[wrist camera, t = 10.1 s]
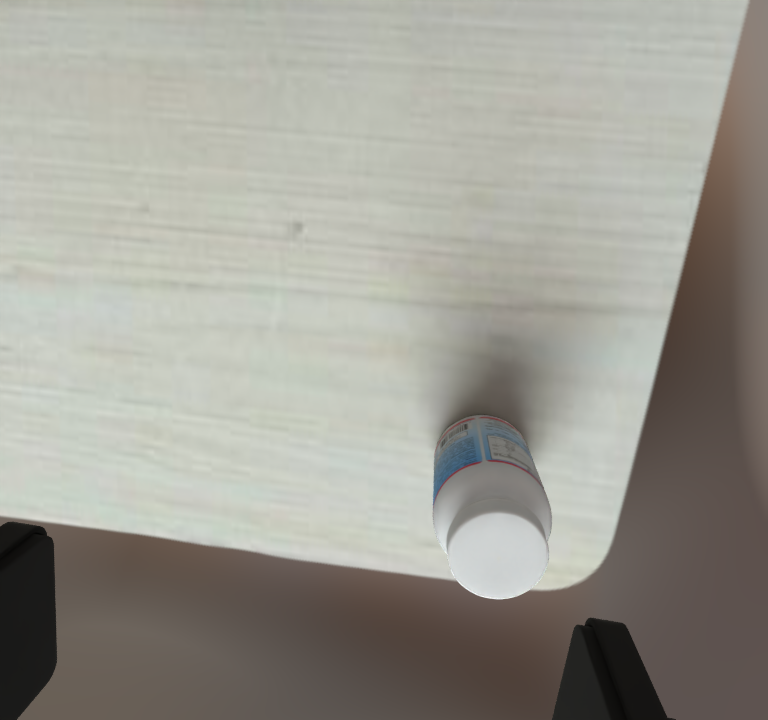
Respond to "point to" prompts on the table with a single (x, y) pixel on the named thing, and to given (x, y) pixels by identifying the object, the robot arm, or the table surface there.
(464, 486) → the pill bottle
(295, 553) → the table surface
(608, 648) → the robot arm
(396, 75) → the table surface
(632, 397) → the table surface
